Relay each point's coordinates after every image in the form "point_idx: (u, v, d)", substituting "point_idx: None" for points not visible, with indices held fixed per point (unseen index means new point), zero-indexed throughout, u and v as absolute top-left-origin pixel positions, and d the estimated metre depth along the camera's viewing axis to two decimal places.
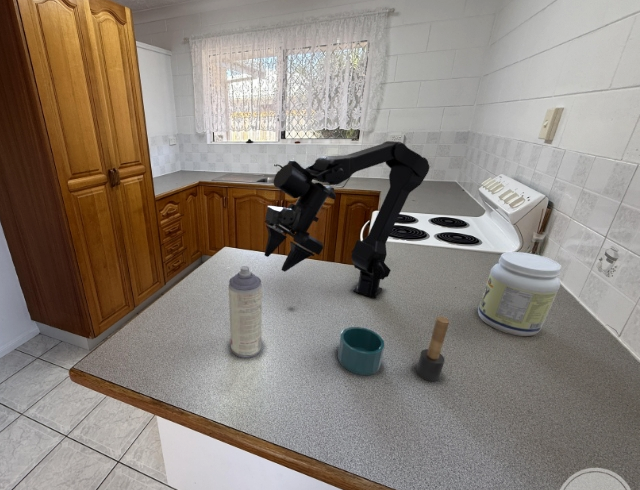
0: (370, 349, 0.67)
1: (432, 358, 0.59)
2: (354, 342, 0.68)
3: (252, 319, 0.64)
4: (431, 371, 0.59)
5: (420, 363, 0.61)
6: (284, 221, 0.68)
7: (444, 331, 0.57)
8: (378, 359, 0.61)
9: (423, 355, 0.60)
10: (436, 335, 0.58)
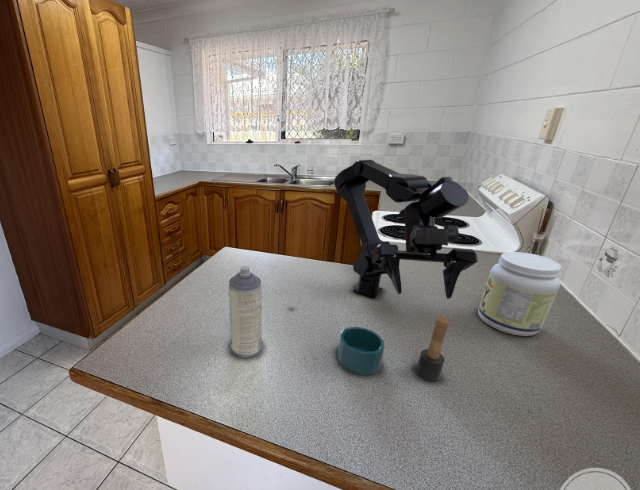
0: (370, 349, 0.67)
1: (432, 358, 0.59)
2: (354, 342, 0.68)
3: (252, 319, 0.64)
4: (431, 371, 0.59)
5: (420, 363, 0.61)
6: None
7: (444, 331, 0.57)
8: (378, 359, 0.61)
9: (423, 355, 0.60)
10: (436, 335, 0.58)
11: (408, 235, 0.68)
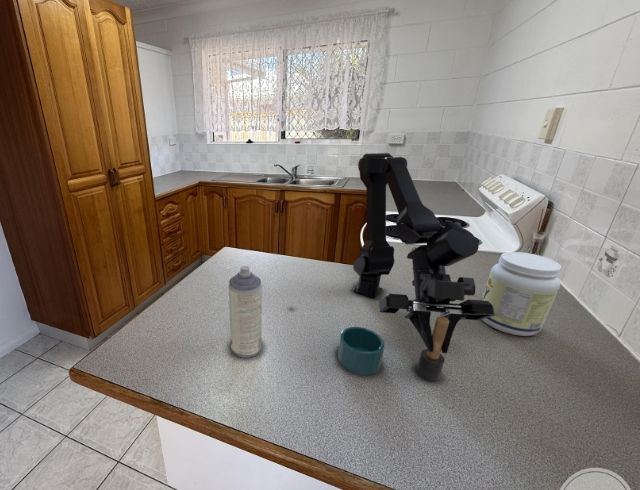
0: (370, 349, 0.67)
1: (432, 358, 0.59)
2: (354, 342, 0.68)
3: (252, 319, 0.64)
4: (431, 371, 0.59)
5: (420, 363, 0.61)
6: None
7: (444, 331, 0.57)
8: (378, 359, 0.61)
9: (423, 355, 0.60)
10: (436, 335, 0.58)
11: (418, 283, 0.62)
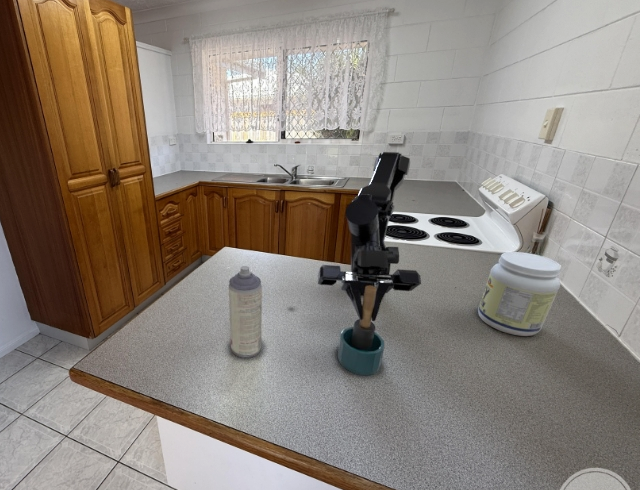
0: (370, 349, 0.67)
1: (363, 326, 0.61)
2: None
3: (252, 319, 0.64)
4: (362, 339, 0.62)
5: (353, 332, 0.63)
6: None
7: (372, 299, 0.59)
8: (378, 359, 0.61)
9: (356, 324, 0.63)
10: (365, 304, 0.60)
11: (352, 255, 0.65)
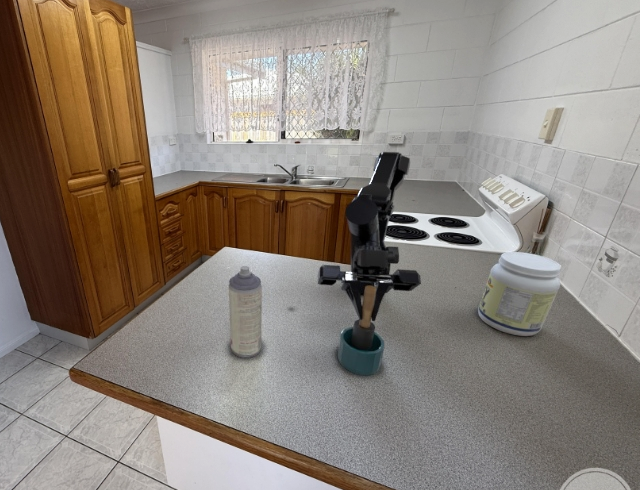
0: (370, 349, 0.67)
1: (363, 326, 0.61)
2: None
3: (252, 319, 0.64)
4: (362, 339, 0.61)
5: (353, 333, 0.63)
6: None
7: (371, 299, 0.59)
8: (378, 359, 0.61)
9: (355, 324, 0.62)
10: (364, 304, 0.60)
11: (352, 255, 0.64)
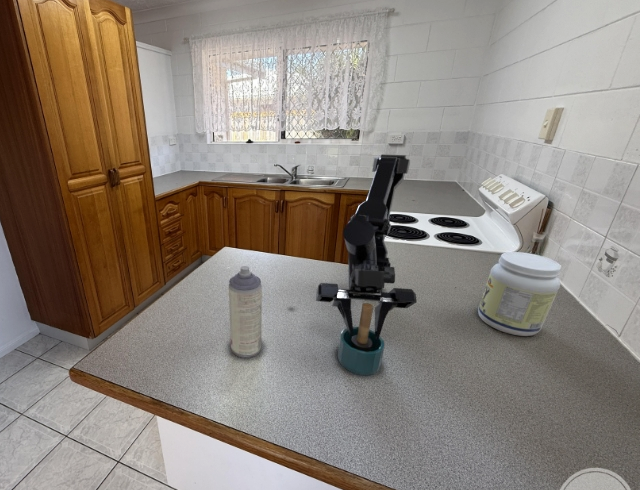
0: None
1: (360, 342, 0.63)
2: None
3: (252, 319, 0.64)
4: None
5: None
6: None
7: (369, 316, 0.60)
8: (378, 359, 0.61)
9: (353, 340, 0.64)
10: (362, 321, 0.61)
11: (350, 273, 0.66)
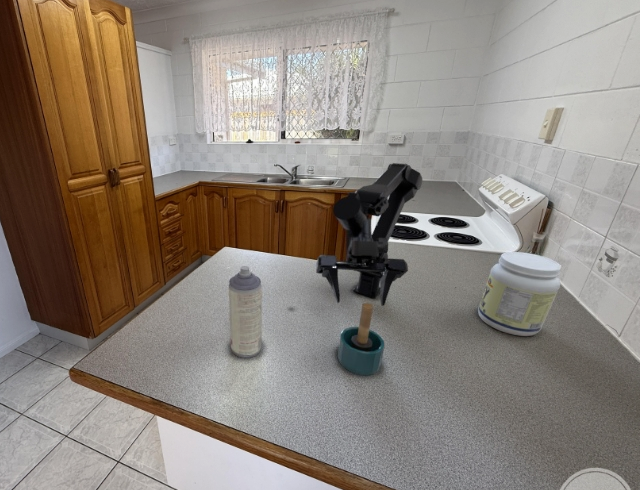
0: None
1: (360, 342, 0.63)
2: None
3: (252, 319, 0.64)
4: None
5: None
6: None
7: (369, 316, 0.60)
8: (378, 359, 0.61)
9: (353, 340, 0.64)
10: (362, 321, 0.61)
11: (347, 246, 0.72)
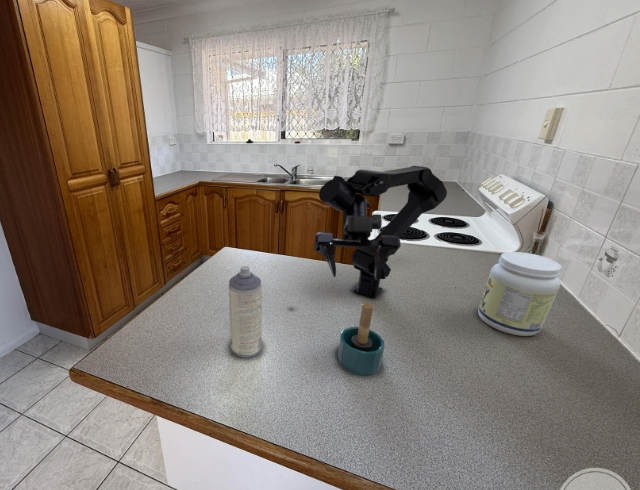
0: None
1: (360, 342, 0.63)
2: None
3: (252, 319, 0.64)
4: None
5: None
6: None
7: (369, 316, 0.60)
8: (378, 359, 0.61)
9: (353, 340, 0.64)
10: (362, 321, 0.61)
11: (343, 224, 0.75)
